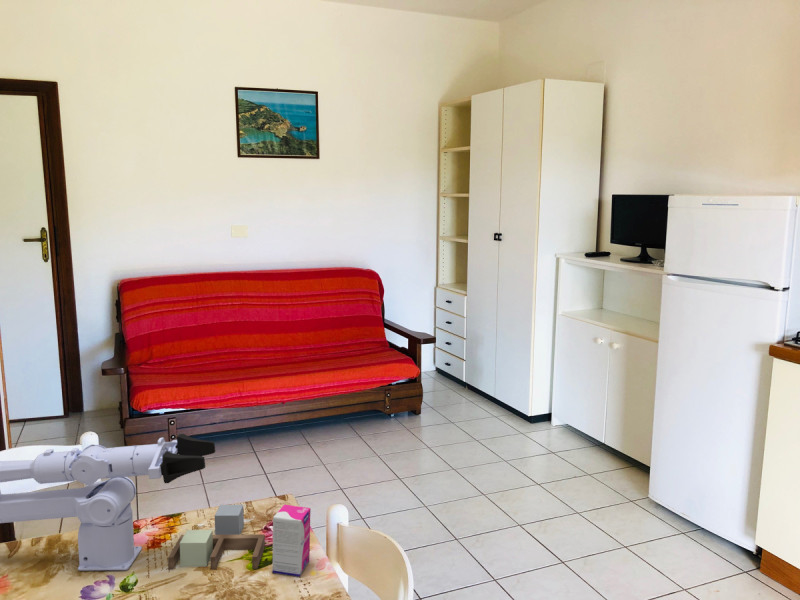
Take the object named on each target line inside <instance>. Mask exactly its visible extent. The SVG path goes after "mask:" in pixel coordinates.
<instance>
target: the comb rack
mask: <svg viewBox="0 0 800 600" xmlns="http://www.w3.org/2000/svg"><path fill="white" fill-rule="evenodd" d="M184 535H185V534H180V535H179V537H178V539H177V541H176V543H175V544H174V546H173V548H172V550H171V551H170V553H169V555H168V557H167V566H168V567H167V569H168V570H175V568H176V566H177V565H178V563H179V562H180V542H181V540H182V538H183V536H184ZM265 547H266V535H265V534H261V533H259V534H254V533H253V534H251V533H249V534H240V535H215V534H213V552H212V554H211V556H210V560H209V562H210V563H209V564H210V566H209V567H210V570H216V569H217V567H218V565H219V562H220V560H221V558H222V556H223V553H224V552H225V550H226V551H229V550H231V551H233V550H234V551H239V550H240V551H247V550H249V551H251V550H253V553H252V556H251V558H252V560H251V561H252V564H251V565H252V566H251V567H252V568H251V569H252V570H258V568H259V565H260V562H261V559H262V556H263V553H264V550H265Z"/></svg>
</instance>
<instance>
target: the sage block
mask: <svg viewBox="0 0 800 600" xmlns="http://www.w3.org/2000/svg"><path fill="white" fill-rule="evenodd" d="M185 531H186V532H185V533H184V534H183V535H184V536H183V538H182V540H181V542H180V559H179V563H180V565H179V566H180V567H181V568H182V567H183V568H186V567H187V568H189V567H192V568H193V567H195V568H197V567H198V568H199V567H203V568H204V567H208V564H209V562H210V556H211V554H212V552H213V535H214V534H213V529H187V530H185Z"/></svg>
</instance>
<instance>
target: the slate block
mask: <svg viewBox="0 0 800 600" xmlns="http://www.w3.org/2000/svg"><path fill="white" fill-rule="evenodd" d="M244 513H245V512H244V504H219V506H218V509H217V510H216V512H215V514H214V535H242V534H241V533H242V531H243V529H244V527H245V519H244V518H245V517H244V516H245V515H244Z"/></svg>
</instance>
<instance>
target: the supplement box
mask: <svg viewBox="0 0 800 600" xmlns="http://www.w3.org/2000/svg"><path fill="white" fill-rule="evenodd" d="M310 543H311V508H310V507H305V506H297V505H290V504H283V505H282V506H281V507H280V509H278V511H277V512H276V514H274V516H273V517H272V567H271V568H272V569H271V570H272V574H275V575H284V576H290V577H296V578H297V577H301V575H302V573H303V571H304V570H305V569H306V567H307V565H308V564H309V562H310V554H311V553H310V551H311V550H310V549H311V544H310Z"/></svg>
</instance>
